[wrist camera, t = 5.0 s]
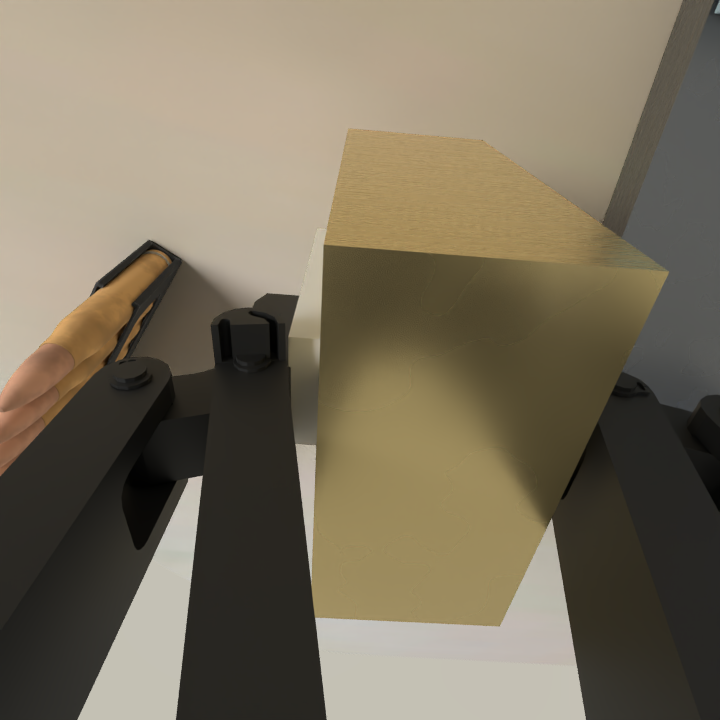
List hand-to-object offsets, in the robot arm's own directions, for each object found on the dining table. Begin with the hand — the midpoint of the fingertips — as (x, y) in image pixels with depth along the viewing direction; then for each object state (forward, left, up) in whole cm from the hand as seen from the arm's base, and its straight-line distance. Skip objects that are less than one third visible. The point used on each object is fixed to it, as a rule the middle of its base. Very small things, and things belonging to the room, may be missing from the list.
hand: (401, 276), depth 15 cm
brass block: (0, 0, -1) cm, 1 cm away
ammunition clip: (+7, -14, -9) cm, 18 cm away
